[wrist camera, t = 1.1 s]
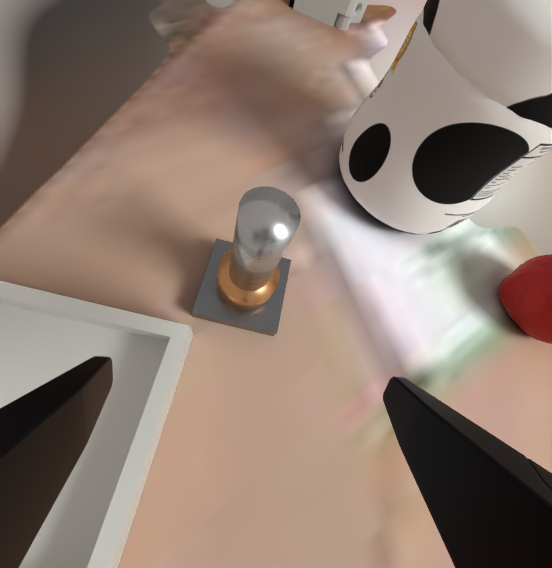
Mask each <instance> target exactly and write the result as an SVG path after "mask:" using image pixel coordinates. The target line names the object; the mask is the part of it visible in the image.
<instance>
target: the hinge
mask: <svg viewBox="0 0 552 568" xmlns="http://www.w3.org/2000/svg"><path fill="white" fill-rule="evenodd" d="M368 2H369V0H290V4H289V6H291V7H293V10H295V11H297V12H299V13H302V14H304V15H306V16H309V17H311V18H313V19H316V20H318V21H320V22H322V23H325V24H327V25H329V26H332V27H333V26H334V24H335V26H336V27H338V28H339V29H341V30H348V28H349V25H350V23H360V21H361V19H362V16H363V14H364V12H365V9H366V7H367V4H368ZM357 5H358V7H357ZM356 7H357V9H356ZM355 9H356V10H355Z"/></svg>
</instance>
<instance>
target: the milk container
mask: <svg viewBox="0 0 552 568" xmlns="http://www.w3.org/2000/svg"><path fill="white" fill-rule="evenodd" d="M550 150H552V0H427V2H426V4H425V6H424V10H423V11H422V12H421V14H420V15H419V16H418V17H417V19H416V21H415V23H414V24H413V26H412V28H411V30H410V32H409V33H408V35H407V37H406V39H405V41H404V43H403V45H402V47H401V49H400V50H399V52H398V54H397V56H396V58H395V60H394V62H393V63H392V65H391V67H390V69H389V70H388V72H387V73H386V75H385V76H384V78H383V79H382V80H381V82H380V83H379V84H378V85H377V87H376V88H375V89H374V90H373V91H372V92H371V93H370V94H369V96H368V97H367V98H366V99H365V100H364V101H363V102H362V104H361V105H360V106H359V107H358V109H357V110H356V112H355V114H354V115H353V117H352V119H351V121H350V123H349V125H348V127H347V129H346V132H345V134H344V137H343V141H342V144H341V147H340V153H339V166H340V171H341V176H342V179H343V182H344V184H345V186H346V187H347V189H348V191H349V192H350V194H351V196H352V197H353V198H354V200H355V201H356V202H357V203H358V204H359V205H360V206H361V207H362V208H363V209H364V210H365V211H366V212H367V213H368V214H369V215H371V216H372V217H373V218H375V219H376V220H378V221H379V222H381V223H383V224H385V225H387V226H388V227H390V228H393V229H395V230H398V231H402V232H406V233H410V234H430V233H436V232H440V231H442V230H445V229H447V228H450V227H452V226H454V225H456V224H458V223H460V222H462V221H464V220H466V219H467V218H469V217H470V216H472V215H474V214H475V213H476V212H477V211H479V210H480V209H481V208H482V207H483V206H484V205H485V204H486V203H488V202H489V201H490V199H491V198H492V197H493V196H494V195H495V194H496V193H497V192H498V191H499V190H500V189H501V188H502V186H503V185H505V183H507V182H508V181H509V180H510V179H511V178H512V177H513V176H514V175H515V174H517V173H518V172H519V171H521V170H522V169H524V168H525V167H526V166H528V165H529V164H531V163H532V162H534V161H535V160H537V159H538V158H540V157H541V156H543V155H544V154H546V153H547V152H549V151H550Z"/></svg>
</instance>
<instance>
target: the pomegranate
mask: <svg viewBox="0 0 552 568" xmlns="http://www.w3.org/2000/svg"><path fill="white" fill-rule="evenodd" d="M499 297H500V300H501V302H502V304H503V305H504V307H505V309H506V311H507V313H508V314H509V316H510V317H511V318H512V319H513V320H514V321H515V322H516V323H517V324H518V326H519V327H520V328H521V329H522V330H523V331H524V332H525V333H527V334H528V335H529V336H531V337H533V338H535V339H537V340H540V341H543V342H546V343H551V344H552V255H544V256H538V257H535V258H532V259H530V260H528V261H526V262H525V263H523V264H521V265H520V266H519V267H518V268H517V269H516V270H515V271H514V272H513V273H512V274H510V275H509V276H508V277H506V278H505V279H504V280H503V281H502V282H501V284H500V287H499Z"/></svg>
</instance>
